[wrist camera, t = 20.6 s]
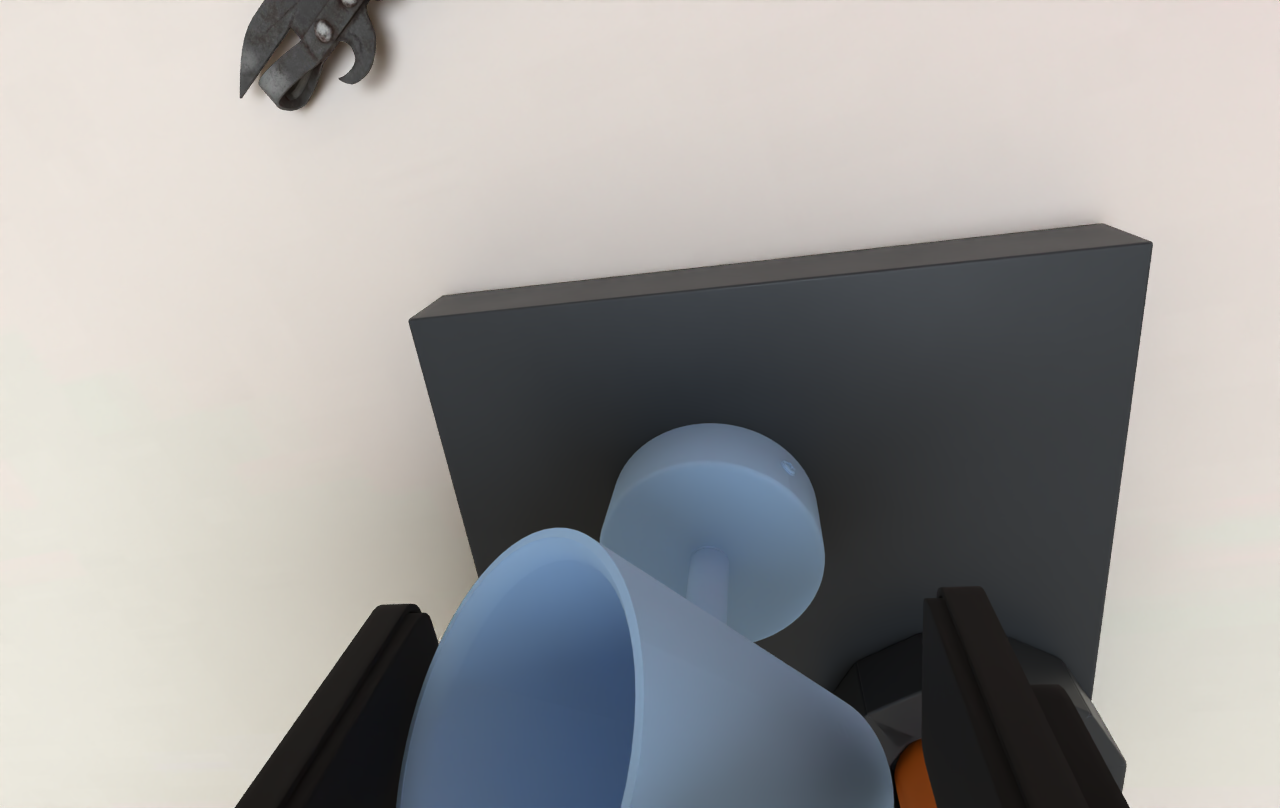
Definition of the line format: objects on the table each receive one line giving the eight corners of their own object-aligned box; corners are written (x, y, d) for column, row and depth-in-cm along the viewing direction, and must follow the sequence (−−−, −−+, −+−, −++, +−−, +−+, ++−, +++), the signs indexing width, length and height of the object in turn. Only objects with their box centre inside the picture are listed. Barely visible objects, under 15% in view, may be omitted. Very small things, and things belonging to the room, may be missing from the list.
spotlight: (508, 478, 16) (737, 652, 17) (206, 986, 7) (727, 1281, 8) (650, 320, 14) (896, 529, 15) (481, 744, 5) (1111, 1172, 6)
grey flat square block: (1048, 757, 20) (1107, 885, 17) (556, 753, 22) (526, 864, 19) (1107, 222, 14) (1212, 261, 11) (441, 295, 17) (370, 345, 13)
